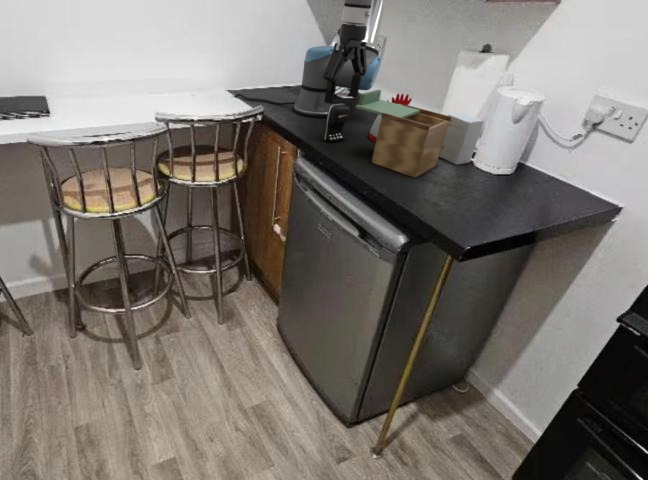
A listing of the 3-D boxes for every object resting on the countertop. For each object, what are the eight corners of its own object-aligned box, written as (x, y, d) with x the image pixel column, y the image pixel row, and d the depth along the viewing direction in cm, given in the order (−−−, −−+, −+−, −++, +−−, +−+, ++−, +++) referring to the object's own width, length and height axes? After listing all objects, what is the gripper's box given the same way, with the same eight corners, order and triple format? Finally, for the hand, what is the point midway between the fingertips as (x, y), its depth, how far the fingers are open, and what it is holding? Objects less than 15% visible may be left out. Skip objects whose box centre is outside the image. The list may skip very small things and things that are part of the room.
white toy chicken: (418, 146, 150) (431, 100, 142) (380, 146, 147) (391, 99, 139) (398, 132, 161) (409, 88, 153) (362, 132, 158) (371, 87, 150)
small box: (470, 162, 140) (484, 120, 133) (455, 165, 138) (469, 122, 131) (450, 153, 146) (463, 112, 139) (435, 155, 144) (448, 114, 137)
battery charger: (330, 143, 146) (336, 107, 140) (322, 140, 149) (328, 104, 142) (346, 140, 150) (352, 105, 143) (338, 137, 152) (344, 102, 146)
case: (370, 162, 135) (382, 112, 127) (394, 151, 144) (406, 104, 136) (414, 178, 127) (429, 126, 119) (436, 165, 136) (451, 116, 128)
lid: (355, 107, 133) (358, 94, 131) (377, 101, 141) (380, 88, 139) (399, 120, 125) (402, 106, 123) (419, 112, 133) (423, 99, 131)
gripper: (341, 27, 120) (328, 108, 132) (387, 24, 136) (372, 97, 148) (318, 23, 124) (307, 102, 136) (365, 21, 140) (352, 92, 152)
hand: (341, 99), depth 142 cm, fingers open, 13 cm apart
